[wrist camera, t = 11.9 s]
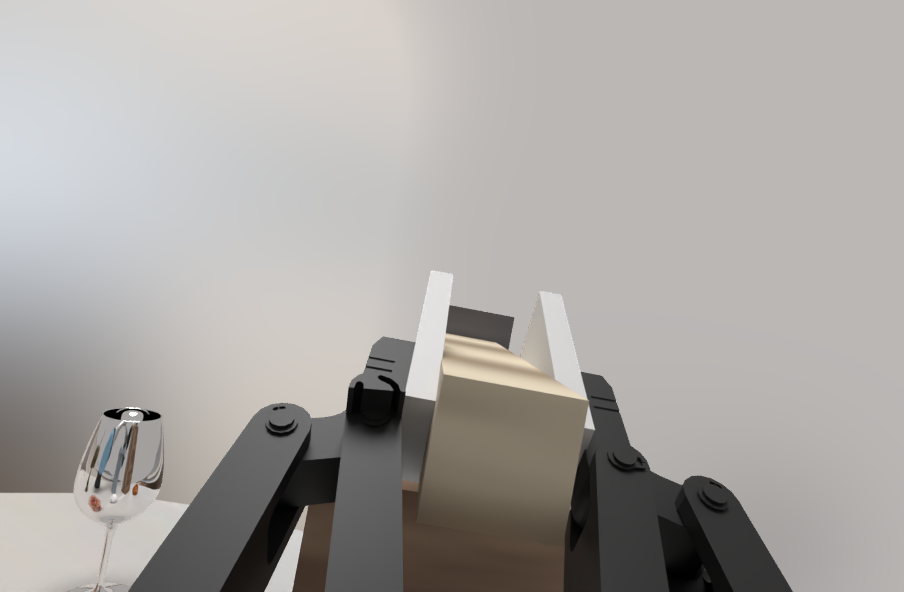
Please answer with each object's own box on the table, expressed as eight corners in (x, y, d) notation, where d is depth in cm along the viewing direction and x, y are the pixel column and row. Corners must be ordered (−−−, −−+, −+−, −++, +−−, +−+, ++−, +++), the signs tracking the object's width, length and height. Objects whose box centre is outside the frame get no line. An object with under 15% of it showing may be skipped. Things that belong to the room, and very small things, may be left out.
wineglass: (105, 576, 60) (139, 401, 61) (155, 602, 57) (191, 418, 58) (30, 609, 53) (69, 409, 53) (83, 639, 50) (125, 429, 50)
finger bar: (596, 553, 11) (635, 338, 11) (381, 516, 11) (422, 299, 11) (489, 390, 31) (503, 315, 31) (414, 376, 31) (428, 301, 31)
